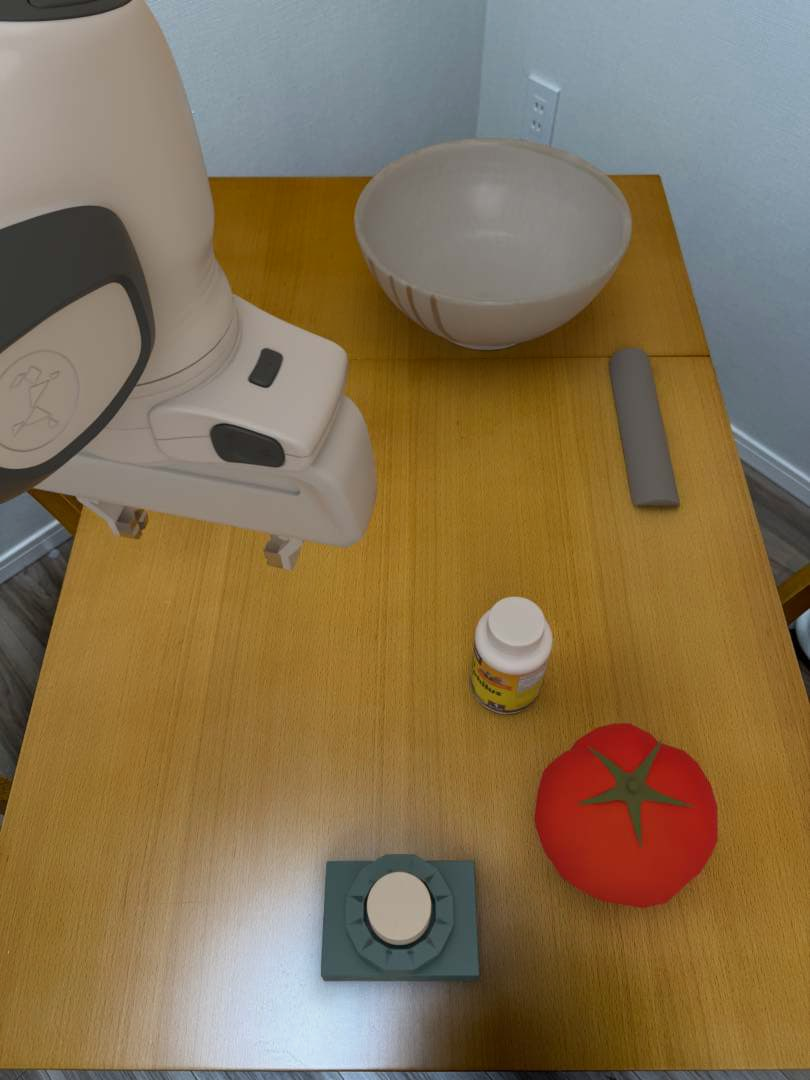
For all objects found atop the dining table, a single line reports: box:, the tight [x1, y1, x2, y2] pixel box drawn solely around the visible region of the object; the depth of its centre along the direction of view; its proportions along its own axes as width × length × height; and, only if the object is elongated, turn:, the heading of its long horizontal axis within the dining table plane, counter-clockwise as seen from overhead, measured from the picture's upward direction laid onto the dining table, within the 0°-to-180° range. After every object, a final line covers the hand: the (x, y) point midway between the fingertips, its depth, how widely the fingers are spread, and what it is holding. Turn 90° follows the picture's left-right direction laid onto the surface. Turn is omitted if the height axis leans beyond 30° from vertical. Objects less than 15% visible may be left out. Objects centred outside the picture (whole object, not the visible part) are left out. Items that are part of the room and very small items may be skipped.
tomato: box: [533, 722, 719, 909], centre depth 56 cm, size 12×12×10 cm
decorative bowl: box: [353, 137, 633, 351], centre depth 88 cm, size 27×27×12 cm
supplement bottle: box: [469, 596, 553, 715], centre depth 63 cm, size 6×6×10 cm
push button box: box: [320, 853, 481, 982], centre depth 56 cm, size 10×7×4 cm
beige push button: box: [367, 872, 431, 945], centre depth 54 cm, size 4×4×2 cm
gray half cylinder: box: [608, 347, 681, 507], centre depth 82 cm, size 4×20×2 cm, turn 179°
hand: (207, 543), depth 50 cm, fingers open, 8 cm apart
